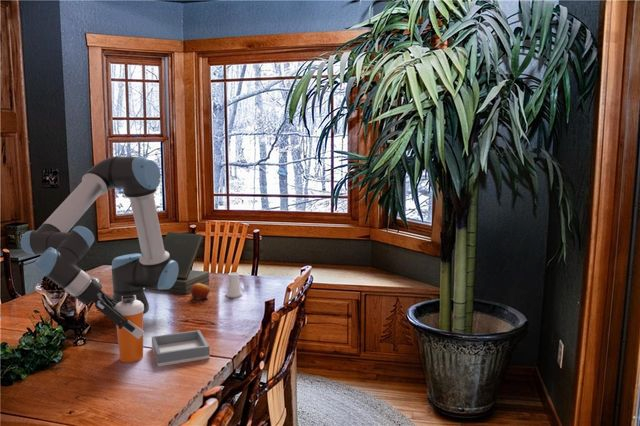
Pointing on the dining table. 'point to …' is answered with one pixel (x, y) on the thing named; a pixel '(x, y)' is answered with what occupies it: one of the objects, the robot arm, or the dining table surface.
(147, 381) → the dining table surface
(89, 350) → the dining table surface
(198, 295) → the fruit
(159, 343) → the tray
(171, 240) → the grey angled stand
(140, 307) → the shaker bottle
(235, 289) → the white cup
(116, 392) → the dining table surface
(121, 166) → the robot arm
